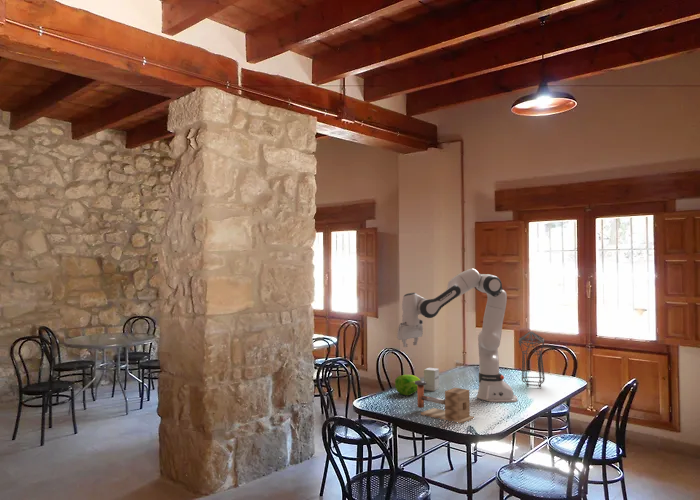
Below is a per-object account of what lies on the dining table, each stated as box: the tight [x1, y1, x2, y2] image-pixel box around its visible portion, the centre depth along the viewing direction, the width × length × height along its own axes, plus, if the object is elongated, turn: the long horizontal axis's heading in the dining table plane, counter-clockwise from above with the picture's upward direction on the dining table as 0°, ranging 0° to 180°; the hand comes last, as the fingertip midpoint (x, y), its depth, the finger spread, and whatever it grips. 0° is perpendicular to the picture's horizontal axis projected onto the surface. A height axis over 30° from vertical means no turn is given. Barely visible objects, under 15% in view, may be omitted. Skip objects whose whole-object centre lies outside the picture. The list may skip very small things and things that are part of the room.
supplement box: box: [423, 367, 440, 392], centre depth 316 cm, size 7×7×13 cm
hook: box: [415, 379, 445, 409], centre depth 265 cm, size 18×6×13 cm, turn 48°
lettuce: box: [394, 374, 421, 396], centre depth 305 cm, size 14×20×12 cm
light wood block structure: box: [420, 387, 475, 424], centre depth 258 cm, size 24×12×14 cm, turn 48°
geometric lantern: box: [518, 331, 546, 388], centre depth 323 cm, size 16×16×35 cm
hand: (410, 346), depth 288 cm, fingers open, 8 cm apart
